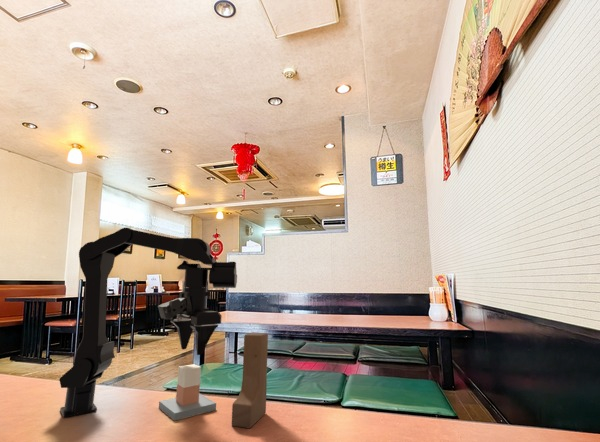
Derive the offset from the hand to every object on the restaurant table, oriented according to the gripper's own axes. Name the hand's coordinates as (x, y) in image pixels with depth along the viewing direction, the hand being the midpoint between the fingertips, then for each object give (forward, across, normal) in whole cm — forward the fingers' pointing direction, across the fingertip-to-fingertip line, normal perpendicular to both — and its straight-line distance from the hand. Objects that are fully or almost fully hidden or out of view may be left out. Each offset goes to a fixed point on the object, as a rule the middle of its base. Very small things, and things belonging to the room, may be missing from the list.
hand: (191, 351), depth 81 cm
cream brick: (+8, 0, 0) cm, 8 cm away
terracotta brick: (+12, 0, 0) cm, 12 cm away
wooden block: (+13, +15, +8) cm, 22 cm away
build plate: (+13, 0, 0) cm, 13 cm away
